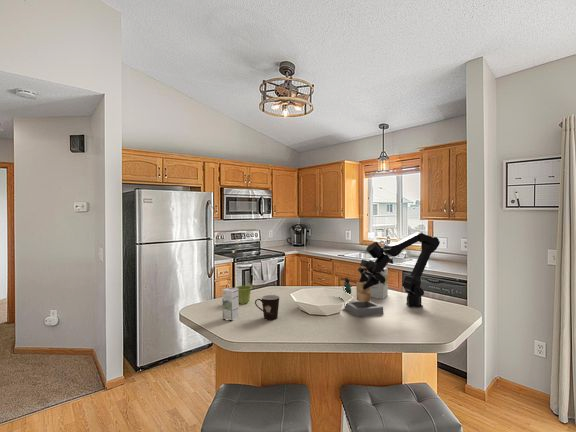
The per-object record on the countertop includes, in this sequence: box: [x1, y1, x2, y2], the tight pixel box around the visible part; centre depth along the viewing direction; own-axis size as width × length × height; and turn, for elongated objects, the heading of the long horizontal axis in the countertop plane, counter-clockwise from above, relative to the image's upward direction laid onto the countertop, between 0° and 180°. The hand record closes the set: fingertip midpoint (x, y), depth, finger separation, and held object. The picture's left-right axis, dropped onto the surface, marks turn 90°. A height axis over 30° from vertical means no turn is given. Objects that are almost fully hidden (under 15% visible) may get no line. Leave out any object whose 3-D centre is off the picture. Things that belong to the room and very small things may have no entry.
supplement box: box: [370, 267, 389, 300], centre depth 192 cm, size 10×9×17 cm
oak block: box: [355, 281, 371, 302], centre depth 163 cm, size 5×5×9 cm
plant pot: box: [234, 285, 253, 304], centre depth 182 cm, size 9×9×9 cm
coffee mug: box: [254, 294, 280, 321], centre depth 156 cm, size 12×9×10 cm
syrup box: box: [221, 287, 240, 321], centre depth 154 cm, size 6×6×14 cm
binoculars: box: [343, 277, 353, 295], centre depth 193 cm, size 9×11×10 cm
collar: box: [344, 300, 384, 318], centre depth 164 cm, size 14×14×4 cm
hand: (360, 287), depth 163 cm, fingers closed on oak block, 5 cm apart
